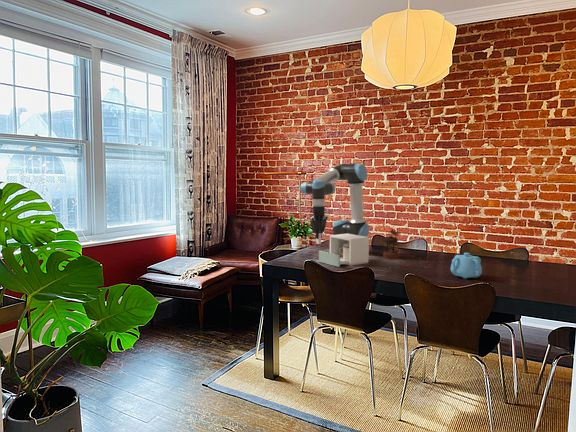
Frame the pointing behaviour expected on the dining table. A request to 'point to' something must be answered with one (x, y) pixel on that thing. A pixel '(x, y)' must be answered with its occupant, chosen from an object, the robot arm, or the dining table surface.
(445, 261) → the dining table surface
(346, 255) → the teacup with lid
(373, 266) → the dining table surface
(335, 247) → the housing
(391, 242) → the bird nest figurine
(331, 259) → the tray
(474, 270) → the decorative pot
